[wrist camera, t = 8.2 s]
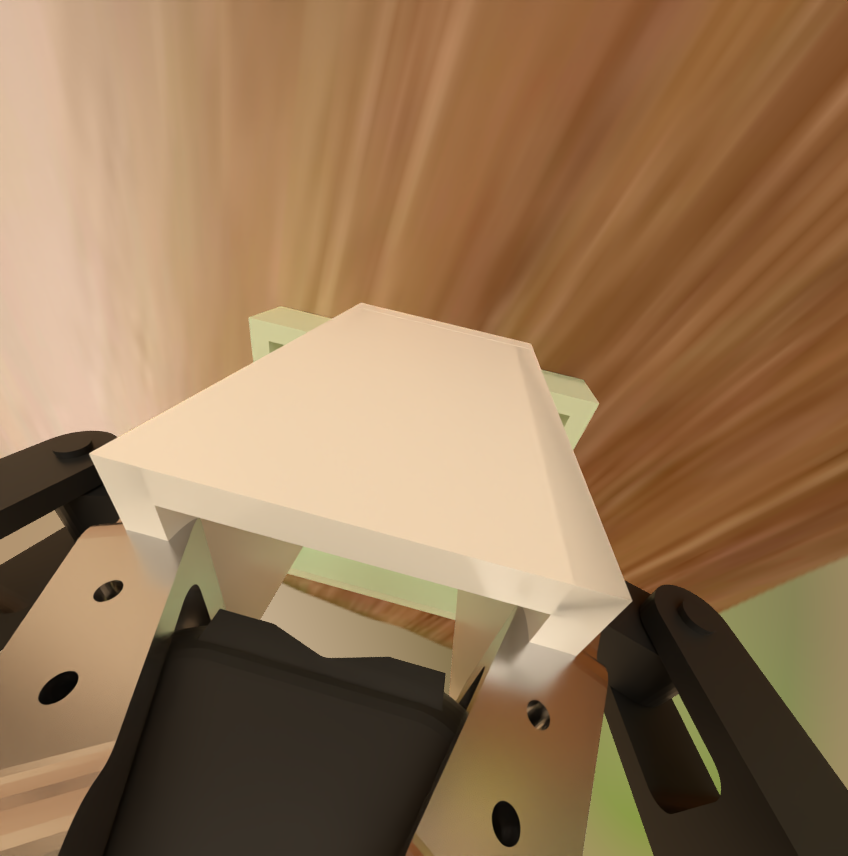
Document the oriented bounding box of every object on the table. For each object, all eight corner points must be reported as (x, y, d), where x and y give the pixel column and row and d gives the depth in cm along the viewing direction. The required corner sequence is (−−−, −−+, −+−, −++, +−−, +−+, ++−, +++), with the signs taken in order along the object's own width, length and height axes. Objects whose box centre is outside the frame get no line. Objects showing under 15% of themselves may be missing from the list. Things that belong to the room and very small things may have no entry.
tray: (583, 379, 18) (599, 403, 16) (476, 592, 30) (475, 625, 27) (280, 306, 19) (248, 317, 16) (292, 542, 31) (275, 570, 28)
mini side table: (361, 302, 11) (88, 452, 4) (531, 343, 11) (632, 600, 3) (350, 440, 14) (196, 674, 7) (480, 475, 14) (473, 757, 6)
